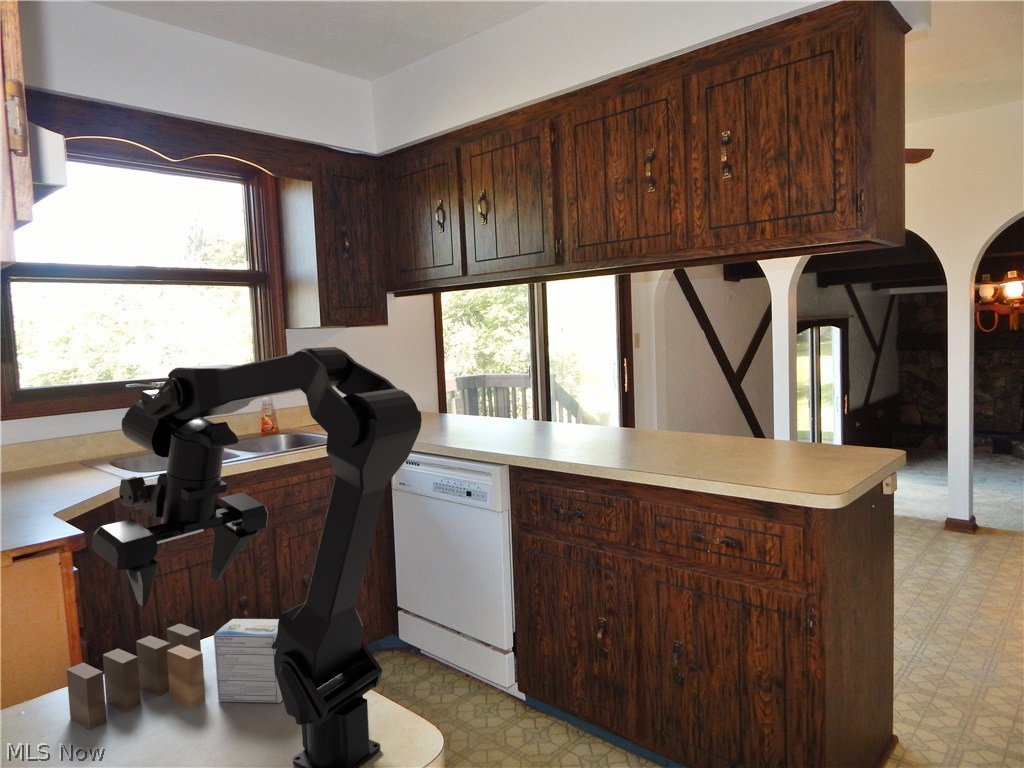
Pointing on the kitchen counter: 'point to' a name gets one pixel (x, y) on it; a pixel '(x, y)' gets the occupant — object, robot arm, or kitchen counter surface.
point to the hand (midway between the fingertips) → (179, 591)
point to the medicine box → (247, 661)
